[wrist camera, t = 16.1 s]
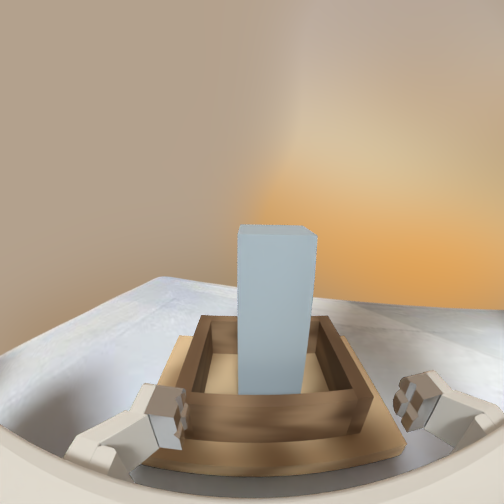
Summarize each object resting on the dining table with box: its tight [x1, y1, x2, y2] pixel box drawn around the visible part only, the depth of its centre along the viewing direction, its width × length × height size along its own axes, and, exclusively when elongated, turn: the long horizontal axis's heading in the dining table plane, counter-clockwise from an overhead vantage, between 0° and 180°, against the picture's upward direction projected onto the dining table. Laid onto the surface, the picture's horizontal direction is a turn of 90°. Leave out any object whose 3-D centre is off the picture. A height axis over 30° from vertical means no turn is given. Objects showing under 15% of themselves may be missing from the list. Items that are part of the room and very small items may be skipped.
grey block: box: [238, 225, 317, 395], centre depth 21 cm, size 5×5×14 cm
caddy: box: [141, 315, 407, 477], centre depth 22 cm, size 20×18×6 cm
